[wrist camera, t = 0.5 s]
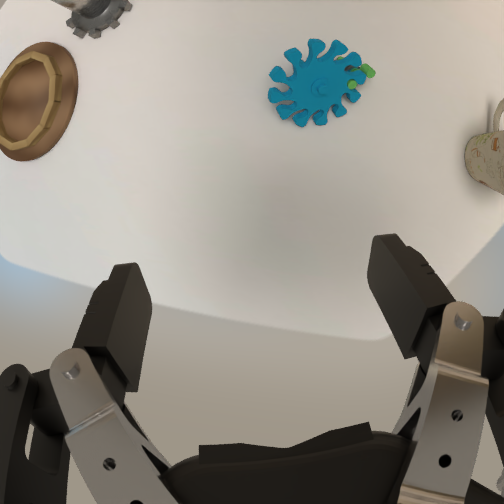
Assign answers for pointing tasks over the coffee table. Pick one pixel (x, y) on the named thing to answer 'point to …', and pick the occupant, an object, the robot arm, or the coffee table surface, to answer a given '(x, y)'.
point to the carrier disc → (36, 100)
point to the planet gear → (94, 15)
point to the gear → (318, 82)
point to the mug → (488, 155)
